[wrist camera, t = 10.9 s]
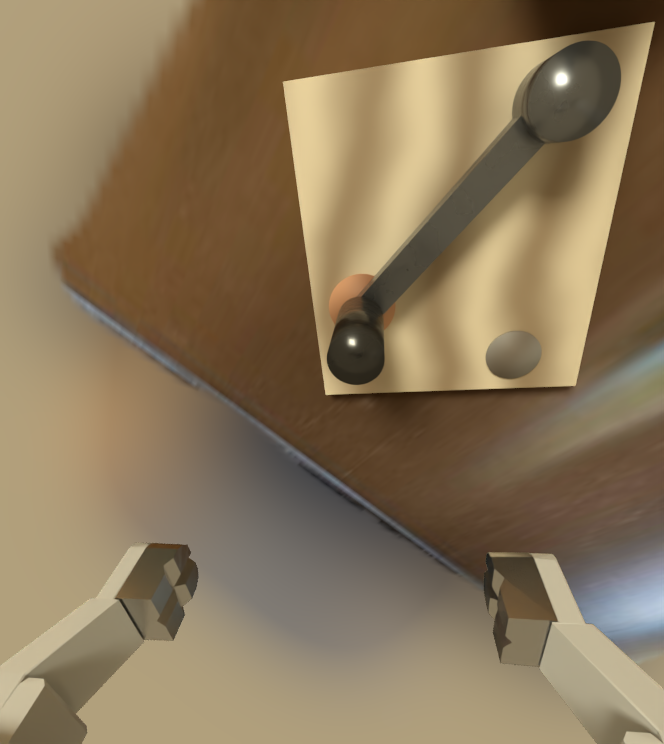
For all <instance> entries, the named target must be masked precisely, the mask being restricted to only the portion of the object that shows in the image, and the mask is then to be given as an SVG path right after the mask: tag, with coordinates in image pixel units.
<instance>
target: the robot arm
mask: <svg viewBox="0 0 664 744" xmlns="http://www.w3.org/2000/svg"><path fill="white" fill-rule="evenodd" d="M190 554H191V551H190V549H189V547H188V545H182V544H159V543H137V542H136V543H135V544H133V545H132V546H131V547H130V548H129V549H128V551H127V552H126V554H125V555H124V557H123V558H122V560H121V561H120V563H119V564H118V566H117V567H116V569H115V570H114V572H113V573H112V575H111V576H110V578H109V579H108V581H107V582H106V584H105V585H104V587H103V588H102V590H101V591H100V593H99V594H98V596H97V597H96V598H91V599H89V600H88V601H86V602H85V603H84V604H82V605H81V606H80V607H78V608H77V609H76V610H74V611H73V612H72V613H70V614H69V615H68V616H66V617H65V618H64V619H62V620H61V621H60V622H58V623H57V624H56V625H54V626H53V627H52V628H50V629H49V630H48V631H46V632H45V633H43V634H42V635H41V636H40V637H38V638H37V639H36V640H34V641H33V642H32V643H30V644H29V645H27V646H26V647H25V648H23V649H22V650H21V651H19V652H18V653H17V654H15V655H14V656H13V657H11V658H10V659H9V660H8V661H6V662H5V663H3V664H2V665H1V666H0V744H82V742H83V740H84V738H85V736H86V734H87V726H86V725H85V724H84V723H83V721H82V720H81V719H80V718H79V717H78V716H77V715H76V713H77V712H78V711H79V710H80V708H82V706H83V705H84V704H85V703H86V702H87V701H88V700H89V699H90V698H91V697H92V696H93V695H94V694H95V693H96V692H97V691H98V690H99V689H100V687H102V685H103V684H104V683H105V682H106V681H107V680H108V679H109V678H110V677H111V676H112V675H113V674H114V673H115V672H116V671H117V670H118V669H119V668H120V667H121V666H122V664H123V663H124V662H125V661H126V660H127V659H128V658H129V657H130V656H131V655H132V654H133V653H134V652H135V651H136V650H137V649H138V648H139V647H140V646H141V644H142V643H143V642H144V640H166V641H173V640H174V638H175V635H176V634H177V631H178V629H179V627H180V625H181V622H182V620H183V618H184V616H185V614H184V609H183V606H184V605H185V604H186V603H187V602H189V601H190V600H191V599H192V597H193V595H194V592H195V590H196V587H197V582H198V568H197V565H196V563H195V562H194V561H193V560H191V559H190V558H189V556H190ZM485 562H486V565H487V569H488V570H487V571H486V572H484V581H483V583H484V595H485V600H486V605H487V609H488V613H489V615H490V616H491V617H492V618H493V619H494V620H495V621H494V628H493V635H494V639H495V643H496V647H497V651H498V655H499V659H500V663H503V664H514V665H524V666H535V667H540V668H539V669H540V671H541V672H542V673H543V674H544V676H545V677H546V679H547V680H548V681H549V682H550V684H551V685H552V686H553V687H554V689H555V690H556V691H557V693H558V694H559V695H560V697H561V698H562V699H563V700H564V702H565V703H566V704H567V706H568V707H569V708H570V709H571V711H572V712H573V713H574V715H575V716H576V717H577V718H578V720H579V721H580V722H581V724H582V725H583V726H584V727H585V729H586V730H587V731H588V733H589V734H590V735H591V736H592V738H593V739H594V740H595V742H596V743H597V744H664V689H663V688H662V687H661V686H660V685H659V684H658V683H656V682H655V681H654V680H653V679H652V678H651V677H650V676H649V675H648V674H647V673H646V672H645V671H643V670H642V669H641V668H640V667H639V666H638V665H637V664H636V663H635V662H634V661H633V660H631V659H630V658H629V657H628V656H627V655H626V654H625V653H624V652H623V651H622V650H621V649H619V648H618V647H617V646H616V645H615V644H614V643H613V642H612V641H611V640H610V639H608V638H607V637H606V636H605V635H604V634H603V633H602V632H601V631H600V630H599V629H598V628H596V627H595V626H594V625H593V624H586V623H585V621H584V619H583V617H582V614H581V612H580V610H579V608H578V606H577V603H576V601H575V599H574V597H573V594H572V592H571V590H570V588H569V586H568V583H567V581H566V579H565V577H564V575H563V572H562V570H561V568H560V566H559V564H558V561H557V559H556V558H555V557H554V556H553V554H543V553H518V552H488V553H487V554H486V561H485Z"/></svg>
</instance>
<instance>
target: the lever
mask: <svg viewBox="0 0 664 744" xmlns="http://www.w3.org/2000/svg"><path fill="white" fill-rule="evenodd" d="M620 85H621V68H620V64H619V61H618V58H617V56H616V55H615V53H614V52H613V51H612V50H611V48H609V47H608V46H607V45H605V44H603V43H601V42H598V41H591V40H587V41H580V42H576V43H573V44H571V45H569V46H567V47H565V48H563V49H562V50H560V51H559V52H557V53H556V54H554V55H552V56H551V57H549V58H548V59H546V60H545V61H543V62H541V63H540V64H538V65H537V66H536V67H534V68H533V69H532V70H531V71H530V72H529V73H528V74H527V75H526V76H525V78H524V79H523V80H522V82H521V84H520V85H519V87H518V89H517V92H516V94H515V97H514V101H513V107H512V118H513V119H512V120H511V121H510V122H509V123H508V125H507V126H506V127H505V128H504V129H503V130H502V131H501V132H500V134H499V135H498V136H497V137H496V138H495V139H494V140H493V142H492V143H491V144H490V145H489V146H488V147H487V148H486V150H485V151H484V152H483V153H482V154H481V155H480V156H479V158H478V159H477V160H476V161H475V162H474V163H473V164H472V166H471V167H470V168H469V169H468V170H467V171H466V172H465V174H464V175H463V176H462V177H461V178H460V179H459V180H458V182H457V183H456V184H455V185H454V186H453V187H452V188H451V189H450V191H449V192H448V193H447V194H446V195H445V196H444V197H443V199H442V200H441V201H440V202H439V203H438V204H437V205H436V207H435V208H434V209H433V210H432V211H431V212H430V213H429V215H428V216H427V217H426V218H425V219H424V220H423V221H422V223H421V224H420V225H419V226H418V227H417V228H416V229H415V231H414V232H413V233H412V234H411V235H410V236H409V237H408V238H407V240H406V241H405V242H404V243H403V244H402V245H401V246H400V248H399V249H398V250H397V251H396V252H395V253H394V254H393V256H392V257H391V258H390V259H389V260H388V261H387V262H386V264H385V265H384V266H383V267H382V268H381V269H380V270H379V272H378V273H377V274H376V275H375V276H374V277H373V278H372V280H371V281H370V282H369V283H368V284H367V285H366V286H365V287H364V289H363V290H362V291H361V292H360V293H359V294H358V295H357V297H353V298H351V299H349V300H347V301H346V302H345V303H344V304H343V305H342V306H341V308H340V310H339V313H338V316H337V320H336V324H335V327H334V331H333V334H332V338H331V342H330V345H329V349H328V352H327V365H328V367H329V370H330V371H331V373H332V374H333V375H334V376H335V377H336V378H337V379H338V380H340V381H342V382H344V383H347V384H351V385H362V384H366V383H369V382H371V381H373V380H374V379H375V378H377V377H378V376H379V374H380V373H381V371H382V369H383V367H384V362H385V353H384V317H383V314H384V313H385V312H386V311H387V310H388V309H389V308H390V307H391V306H392V305H393V304H394V303H395V302H396V301H397V300H398V299H399V297H400V296H401V295H402V294H403V293H404V292H405V291H406V290H407V289H408V288H409V287H410V286H411V285H412V284H413V283H414V282H415V281H416V279H417V278H418V277H419V276H420V275H421V274H422V273H423V272H424V271H425V270H426V269H427V268H428V267H429V266H430V265H431V264H432V263H433V262H434V260H435V259H436V258H437V257H438V256H439V255H440V254H441V253H442V252H443V251H444V250H445V249H446V248H447V247H448V246H449V245H450V244H451V242H452V241H453V240H454V239H455V238H456V237H457V236H458V235H459V234H460V233H461V232H462V231H463V230H464V229H465V228H466V227H467V226H468V224H469V223H470V222H471V221H472V220H473V219H474V218H475V217H476V216H477V215H478V214H479V213H480V212H481V211H482V210H483V209H484V208H485V206H486V205H487V204H488V203H489V202H490V201H491V200H492V199H493V198H494V197H495V196H496V195H497V194H498V193H499V192H500V191H501V190H502V188H503V187H504V186H505V185H506V184H507V183H508V182H509V181H510V180H511V179H512V178H513V177H514V176H515V175H516V174H517V173H518V172H519V170H520V169H521V168H522V167H523V166H524V165H525V164H526V163H527V162H528V161H529V160H530V159H531V158H532V157H533V156H534V155H535V154H536V153H537V151H538V150H539V149H540V148H541V147H542V146H543V145H544V144H552V143H560V142H568V141H573V140H576V139H579V138H581V137H583V136H585V135H587V134H589V133H590V132H592V131H593V130H594V129H595V128H597V127H598V126H599V125H600V124H601V123H602V122H603V121H604V119H605V118H606V117H607V115H608V114H609V113H610V111H611V109H612V108H613V106H614V104H615V102H616V99H617V97H618V94H619V90H620Z"/></svg>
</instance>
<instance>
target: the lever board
mask: <svg viewBox="0 0 664 744" xmlns="http://www.w3.org/2000/svg"><path fill="white" fill-rule="evenodd" d="M654 24H655V22H649V23H643V24H637V25H631V26H624V27H618V28H612V29H606V30H600V31H594V32H587V33H581V34H575V35H569V36H563V37H556V38H550V39H544V40H538V41H532V42H526V43H519V44H513V45H507V46H501V47H495V48H489V49H482V50H476V51H470V52H464V53H458V54H452V55H445V56H439V57H433V58H427V59H421V60H414V61H408V62H402V63H396V64H390V65H384V66H377V67H371V68H365V69H359V70H353V71H347V72H340V73H334V74H328V75H322V76H316V77H310V78H303V79H297V80H291V81H285V82H283V86H284V93H285V101H286V108H287V115H288V123H289V130H290V137H291V145H292V152H293V159H294V167H295V174H296V181H297V188H298V196H299V203H300V210H301V218H302V225H303V232H304V240H305V247H306V254H307V262H308V269H309V276H310V283H311V291H312V298H313V305H314V313H315V320H316V327H317V335H318V342H319V349H320V357H321V364H322V371H323V378H324V386H325V393H326V395H334V394H361V393H389V392H417V391H445V390H472V389H500V388H528V387H555V386H576V381H577V377H578V372H579V367H580V363H581V358H582V354H583V349H584V344H585V340H586V335H587V331H588V326H589V322H590V317H591V312H592V308H593V303H594V299H595V294H596V290H597V285H598V280H599V276H600V271H601V267H602V262H603V258H604V253H605V248H606V244H607V239H608V235H609V230H610V225H611V221H612V216H613V212H614V207H615V203H616V198H617V193H618V189H619V184H620V180H621V175H622V171H623V166H624V161H625V157H626V152H627V148H628V143H629V139H630V134H631V129H632V125H633V120H634V116H635V111H636V106H637V102H638V97H639V93H640V88H641V84H642V79H643V74H644V70H645V65H646V61H647V56H648V52H649V47H650V42H651V38H652V33H653V29H654ZM587 40H591V41H598V42H601V43H603V44H605V45H607V46H608V47H609V48H611V50H612V51H613V52H614V53H615V55H616V56H617V58H618V61H619V64H620V68H621V85H620V90H619V94H618V97H617V99H616V102H615V104H614V106H613V108H612V109H611V111H610V113H609V114H608V115H607V117H606V118H605V119H604V121H603V122H602V123H601V124H600V125H599V126H598V127H597V128H595V129H594V130H593V131H592V132H590V133H589V134H587V135H585V136H583V137H581V138H579V139H576V140H573V141H568V142H560V143H552V144H544V145H543V146H542V147H541V148H540V149H539V150H538V151H537V153H536V154H535V155H534V156H533V157H532V158H531V159H530V160H529V161H528V162H527V163H526V164H525V165H524V166H523V167H522V168H521V169H520V170H519V172H518V173H517V174H516V175H515V176H514V177H513V178H512V179H511V180H510V181H509V182H508V183H507V184H506V185H505V186H504V187H503V188H502V190H501V191H500V192H499V193H498V194H497V195H496V196H495V197H494V198H493V199H492V200H491V201H490V202H489V203H488V204H487V205H486V206H485V208H484V209H483V210H482V211H481V212H480V213H479V214H478V215H477V216H476V217H475V218H474V219H473V220H472V221H471V222H470V223H469V224H468V226H467V227H466V228H465V229H464V230H463V231H462V232H461V233H460V234H459V235H458V236H457V237H456V238H455V239H454V240H453V241H452V242H451V244H450V245H449V246H448V247H447V248H446V249H445V250H444V251H443V252H442V253H441V254H440V255H439V256H438V257H437V258H436V259H435V260H434V262H433V263H432V264H431V265H430V266H429V267H428V268H427V269H426V270H425V271H424V272H423V273H422V274H421V275H420V276H419V277H418V278H417V279H416V281H415V282H414V283H413V284H412V285H411V286H410V287H409V288H408V289H407V290H406V291H405V292H404V293H403V294H402V295H401V296H400V297H399V299H398V300H397V301H396V302H395V303H394V304H393V305H392V306H391V307H390V308H389V309H388V310H387V311H386V312H385V313H384V314H383V317H384V353H385V362H384V367H383V369H382V371H381V373H380V374H379V376H378V377H377V378H375V379H374V380H373V381H371V382H369V383H366V384H362V385H351V384H347V383H344V382H342V381H340V380H338V379H337V378H336V377H335V376H334V375H333V374H332V373H331V371H330V370H329V367H328V365H327V352H328V349H329V345H330V342H331V338H332V334H333V331H334V327H335V324H336V320H337V316H338V313H339V310H340V308H341V306H342V305H343V304H344V303H345V302H346V301H347V300H349V299H351V298H353V297H357V295H358V294H359V293H360V292H361V291H362V290H363V289H364V287H365V286H366V285H367V284H368V283H369V282H370V281H371V280H372V278H373V277H374V276H375V275H376V274H377V273H378V272H379V270H380V269H381V268H382V267H383V266H384V265H385V264H386V262H387V261H388V260H389V259H390V258H391V257H392V256H393V254H394V253H395V252H396V251H397V250H398V249H399V248H400V246H401V245H402V244H403V243H404V242H405V241H406V240H407V238H408V237H409V236H410V235H411V234H412V233H413V232H414V231H415V229H416V228H417V227H418V226H419V225H420V224H421V223H422V221H423V220H424V219H425V218H426V217H427V216H428V215H429V213H430V212H431V211H432V210H433V209H434V208H435V207H436V205H437V204H438V203H439V202H440V201H441V200H442V199H443V197H444V196H445V195H446V194H447V193H448V192H449V191H450V189H451V188H452V187H453V186H454V185H455V184H456V183H457V182H458V180H459V179H460V178H461V177H462V176H463V175H464V174H465V172H466V171H467V170H468V169H469V168H470V167H471V166H472V164H473V163H474V162H475V161H476V160H477V159H478V158H479V156H480V155H481V154H482V153H483V152H484V151H485V150H486V148H487V147H488V146H489V145H490V144H491V143H492V142H493V140H494V139H495V138H496V137H497V136H498V135H499V134H500V132H501V131H502V130H503V129H504V128H505V127H506V126H507V125H508V123H509V122H510V121H511V120H512V119H513V118H512V107H513V101H514V97H515V94H516V92H517V89H518V87H519V85H520V84H521V82H522V80H523V79H524V78H525V76H526V75H527V74H528V73H529V72H530V71H531V70H532V69H533V68H534V67H536V66H537V65H538V64H540V63H541V62H543V61H545V60H546V59H548V58H549V57H551V56H552V55H554V54H556V53H557V52H559V51H560V50H562V49H563V48H565V47H567V46H569V45H571V44H573V43H576V42H580V41H587Z"/></svg>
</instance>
